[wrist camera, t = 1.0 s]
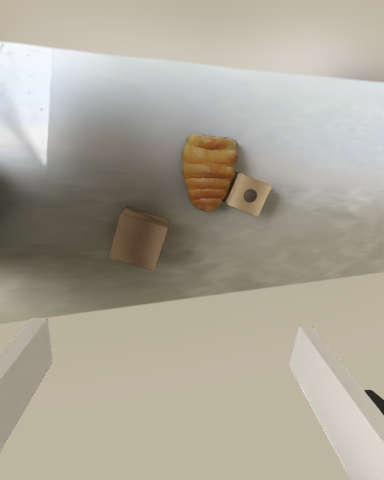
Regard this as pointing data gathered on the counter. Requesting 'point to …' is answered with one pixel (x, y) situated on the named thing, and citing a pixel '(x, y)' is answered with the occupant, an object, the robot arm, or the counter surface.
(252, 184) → the beech block
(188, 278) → the counter surface
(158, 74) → the counter surface
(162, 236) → the walnut block
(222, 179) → the pastry
